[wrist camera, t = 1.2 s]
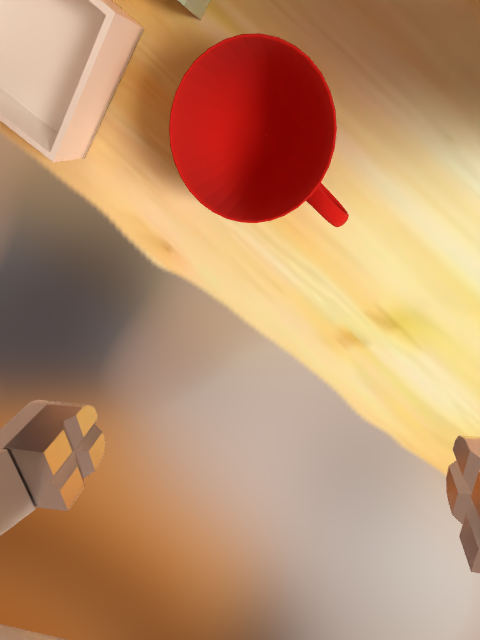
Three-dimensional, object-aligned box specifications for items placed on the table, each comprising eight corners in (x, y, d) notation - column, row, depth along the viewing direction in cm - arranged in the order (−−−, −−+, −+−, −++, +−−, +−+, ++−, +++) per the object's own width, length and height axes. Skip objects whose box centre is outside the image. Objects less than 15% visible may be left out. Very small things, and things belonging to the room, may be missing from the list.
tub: (13, -86, 33) (-39, -122, 29) (144, 28, 35) (115, 12, 30) (-28, 69, 40) (-76, 61, 35) (84, 158, 42) (53, 162, 37)
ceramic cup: (297, 251, 42) (290, 284, 33) (180, 144, 39) (138, 148, 30) (392, 155, 36) (414, 164, 27) (260, 20, 33) (237, -18, 24)
